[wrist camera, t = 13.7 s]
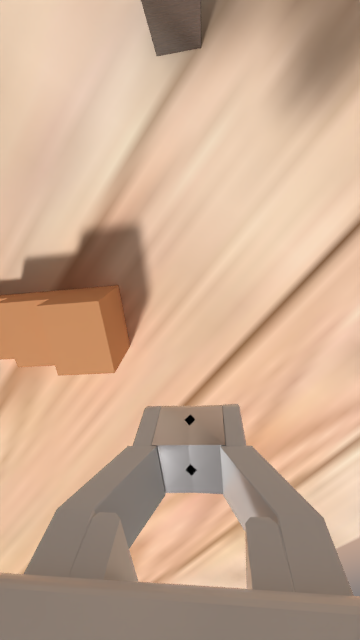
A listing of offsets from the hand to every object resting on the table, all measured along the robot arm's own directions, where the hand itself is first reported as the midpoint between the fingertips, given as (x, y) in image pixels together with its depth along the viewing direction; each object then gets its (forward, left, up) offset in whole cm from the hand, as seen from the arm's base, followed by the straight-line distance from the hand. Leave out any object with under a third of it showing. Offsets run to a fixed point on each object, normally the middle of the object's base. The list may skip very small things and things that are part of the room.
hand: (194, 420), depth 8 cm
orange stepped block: (-12, 0, -12) cm, 16 cm away
